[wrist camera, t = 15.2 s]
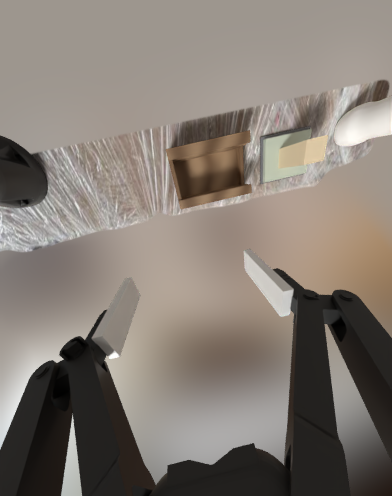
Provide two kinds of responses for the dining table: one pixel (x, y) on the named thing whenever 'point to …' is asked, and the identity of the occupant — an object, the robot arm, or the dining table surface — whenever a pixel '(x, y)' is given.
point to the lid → (291, 154)
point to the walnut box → (209, 169)
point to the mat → (262, 149)
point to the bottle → (365, 123)
